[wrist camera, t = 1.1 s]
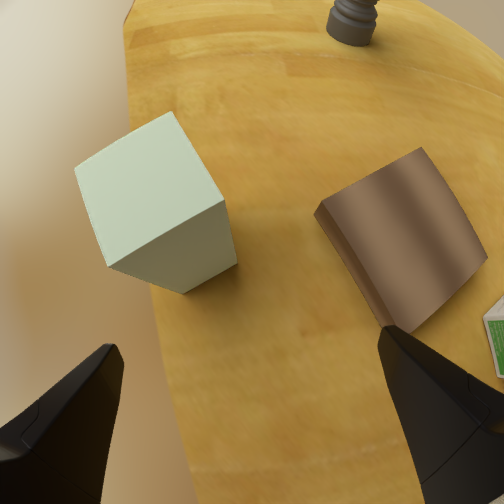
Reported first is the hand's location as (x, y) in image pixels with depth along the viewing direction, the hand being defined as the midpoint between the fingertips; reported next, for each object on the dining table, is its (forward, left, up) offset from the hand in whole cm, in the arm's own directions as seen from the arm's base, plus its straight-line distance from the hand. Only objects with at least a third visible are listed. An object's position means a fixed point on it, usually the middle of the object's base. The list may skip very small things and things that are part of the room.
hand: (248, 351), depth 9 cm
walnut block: (+15, -1, -13) cm, 20 cm away
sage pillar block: (-1, +8, -13) cm, 15 cm away
